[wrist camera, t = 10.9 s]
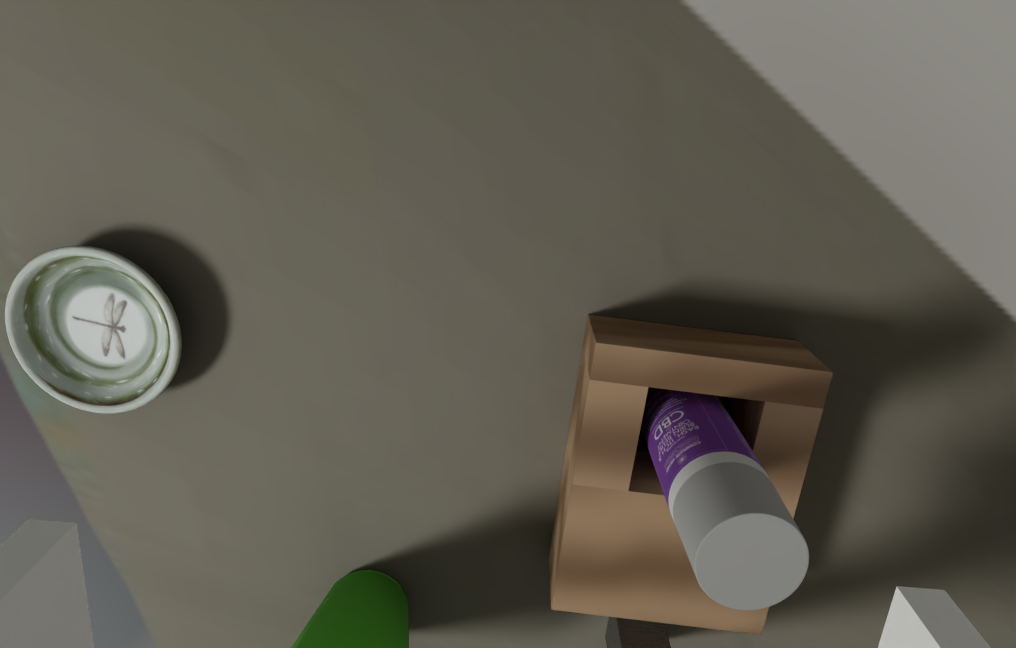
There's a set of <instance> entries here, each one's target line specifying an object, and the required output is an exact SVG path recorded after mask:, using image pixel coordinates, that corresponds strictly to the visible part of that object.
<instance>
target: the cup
mask: <svg viewBox="0 0 1016 648" xmlns="http://www.w3.org/2000/svg"><path fill="white" fill-rule="evenodd" d="M291 648H409V605H408V601H407V597H406V595H405V593H404V591H403V590H402V588H401V586H400V585H399V584H398V583H397V582H396V581H395V580H394V579H392V578H391V577H390V576H388V575H386V574H384V573H381V572H378V571H373V570H360V571H356V572H352V573H350V574H348V575H346V576H345V577H343V578H341V579H340V580H339V581H338V582H336V583H335V584H334V585H333V587H332V588H331V590H330V591H329V593H328V594H327V596H326V597H325V599H324V600H323V602H322V603H321V605H320V606H319V608H318V609H317V610H316V612H315V613H314V615H313V616H312V618H311V619H310V621H309V622H308V624H307V625H306V627H305V628H304V630H303V631H302V633H301V634H300V635H299V637H298V638H297V640H296V641H295V643H294V644H293V646H292V647H291Z"/></svg>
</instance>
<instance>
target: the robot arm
mask: <svg viewBox="0 0 1016 648" xmlns="http://www.w3.org/2000/svg"><path fill="white" fill-rule="evenodd" d="M0 648H94V644H93V636H92V629H91V622H90V615H89V608H88V601H87V594H86V587H85V580H84V573H83V566H82V559H81V552H80V545H79V538H78V531H77V524H76V523H67V522H54V521H41V520H27V521H26V522H25V523H24V524H23V525H22V526H21V527H20V528H19V529H17V530H16V531H15V532H14V533H13V534H12V535H11V536H10V537H9V538H8V539H6V541H4V542H3V543H2V544H1V545H0ZM878 648H990V646H989V645H988V644H987V643H986V641H985V640H984V639H983V638H982V636H981V635H980V634H979V633H978V631H977V630H976V629H975V628H974V626H973V625H972V624H971V623H970V621H969V620H968V619H967V618H966V616H965V615H964V614H963V613H962V611H961V610H960V609H959V608H958V606H957V605H956V604H955V603H954V601H953V600H952V599H951V598H950V596H949V595H948V594H947V593H946V591H945V590H938V589H925V588H912V587H899V586H897V587H896V590H895V593H894V597H893V600H892V603H891V606H890V610H889V613H888V616H887V620H886V623H885V626H884V630H883V633H882V636H881V639H880V643H879V646H878Z"/></svg>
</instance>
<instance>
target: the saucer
mask: <svg viewBox="0 0 1016 648" xmlns="http://www.w3.org/2000/svg"><path fill="white" fill-rule="evenodd" d="M5 323H6V330H7V335H8V338H9V342H10V344H11V347H12V350H13V352H14V354H15V356H16V358H17V359H18V361H19V363H20V364H21V366H22V367H23V369H24V370H25V371H26V372H27V374H28V375H29V376H30V377H31V378H32V379H33V380H34V381H35V382H36V383H37V384H38V385H39V386H40V387H41V388H42V389H43V390H45V391H46V392H47V393H49V394H50V395H52V396H53V397H55V398H57V399H58V400H60V401H62V402H64V403H66V404H68V405H70V406H73V407H76V408H78V409H82V410H86V411H90V412H96V413H121V412H127V411H130V410H134V409H137V408H139V407H142V406H144V405H146V404H148V403H149V402H151V401H152V400H154V399H155V398H156V397H158V396H159V395H160V394H161V393H162V392H163V391H164V390H165V389H166V388H167V386H168V385H169V384H170V382H171V381H172V379H173V377H174V375H175V373H176V371H177V369H178V366H179V362H180V357H181V349H182V339H181V331H180V325H179V322H178V319H177V316H176V313H175V311H174V309H173V306H172V304H171V302H170V301H169V299H168V297H167V296H166V294H165V293H164V291H163V290H162V289H161V287H160V286H159V285H158V284H157V283H156V281H155V280H154V279H153V278H152V277H151V276H150V275H149V274H148V273H147V272H145V271H144V270H143V269H142V268H140V267H139V266H138V265H136V264H135V263H133V262H132V261H130V260H128V259H127V258H125V257H123V256H121V255H119V254H116V253H114V252H111V251H108V250H105V249H101V248H95V247H90V246H68V247H62V248H57V249H54V250H51V251H48V252H46V253H43V254H41V255H40V256H38V257H36V258H34V259H33V260H31V261H30V262H29V263H28V264H27V265H26V266H25V267H24V268H23V269H22V270H21V271H20V272H19V273H18V275H17V276H16V278H15V279H14V281H13V283H12V285H11V287H10V290H9V293H8V296H7V300H6V307H5Z"/></svg>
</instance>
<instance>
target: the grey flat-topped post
mask: <svg viewBox="0 0 1016 648" xmlns="http://www.w3.org/2000/svg"><path fill="white" fill-rule="evenodd" d="M605 638H606V645H607V648H671V646H670V642H669V639H668V635H667V631H666V627H665V623H659V622H651V621H642V620H634V619H625V618H617V617H609V621H608V626H607V631H606V636H605Z"/></svg>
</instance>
